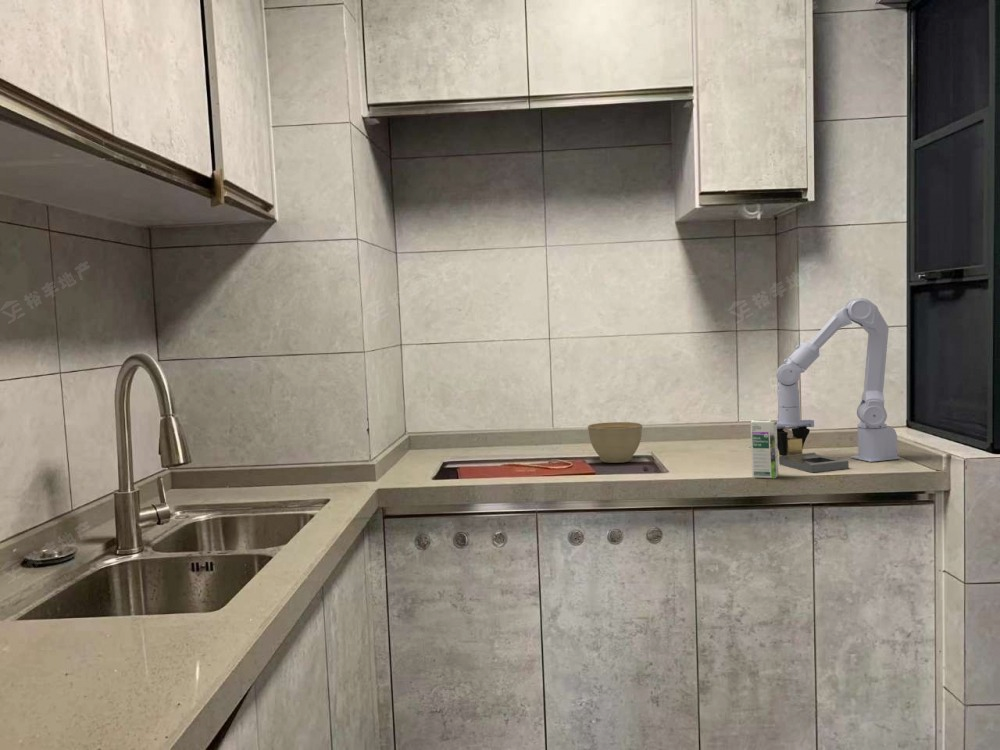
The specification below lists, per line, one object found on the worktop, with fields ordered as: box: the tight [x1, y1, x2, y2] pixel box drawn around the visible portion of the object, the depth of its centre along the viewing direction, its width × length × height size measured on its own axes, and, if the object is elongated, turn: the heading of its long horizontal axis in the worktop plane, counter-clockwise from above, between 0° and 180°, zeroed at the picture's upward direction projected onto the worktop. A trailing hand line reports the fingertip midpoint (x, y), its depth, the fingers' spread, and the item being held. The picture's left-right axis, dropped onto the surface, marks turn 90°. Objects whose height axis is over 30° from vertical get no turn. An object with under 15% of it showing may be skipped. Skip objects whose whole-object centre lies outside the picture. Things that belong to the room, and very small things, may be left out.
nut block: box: [778, 435, 804, 457], centre depth 217 cm, size 4×4×6 cm
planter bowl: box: [587, 421, 643, 464], centre depth 231 cm, size 16×16×11 cm
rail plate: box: [778, 452, 850, 474], centre depth 205 cm, size 11×14×2 cm
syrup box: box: [749, 418, 780, 479], centre depth 196 cm, size 6×6×14 cm
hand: (790, 454), depth 217 cm, fingers closed on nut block, 4 cm apart
